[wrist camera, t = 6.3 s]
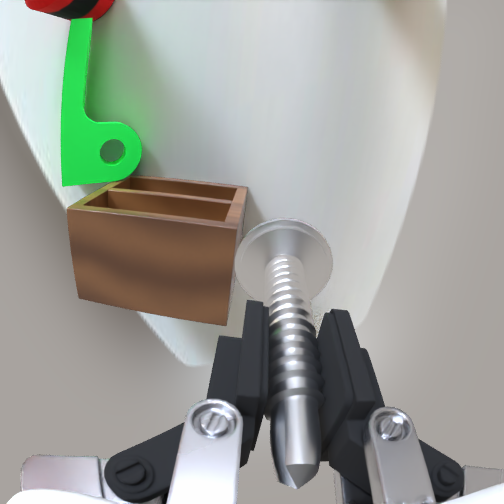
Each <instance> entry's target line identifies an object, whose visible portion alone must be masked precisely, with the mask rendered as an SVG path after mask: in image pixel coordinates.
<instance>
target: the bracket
mask: <svg viewBox="0 0 504 504" xmlns="http://www.w3.org/2000/svg"><path fill="white" fill-rule="evenodd" d="M91 35H92V18H81V19H71V25H70V31H69V37H68V43H67V51H66V58H65V67H64V77H63V90H62V107H61V171H62V187H64V186H72V185H82V184H91V183H102V182H113V181H118V180H121V179H124V178H126V177H127V176H129V175H130V174H131V173H132V172H133V171H134V170H135V169H136V167H137V166H138V164H139V161H140V159H141V154H142V146H141V141H140V139H139V137H138V135H137V134H136V132H135V131H134V130H133V129H132V128H130V127H129V126H127V125H125V124H123V123H120V122H95V121H93V120H91V119H90V118H88V117H87V115H86V114H85V111H84V107H85V91H86V79H87V69H88V60H89V52H90V44H91ZM111 139H117V140H119V141H121V142H122V143H123V145H124V151H123V154H122V156H121V157H120V158H119V159H118V160H116V161H113V162H108V161H106V160H104V159H103V158H102V157H101V155H100V149H101V147H102V145H103V144H104V143H105V142H106V141H108V140H111Z"/></svg>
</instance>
